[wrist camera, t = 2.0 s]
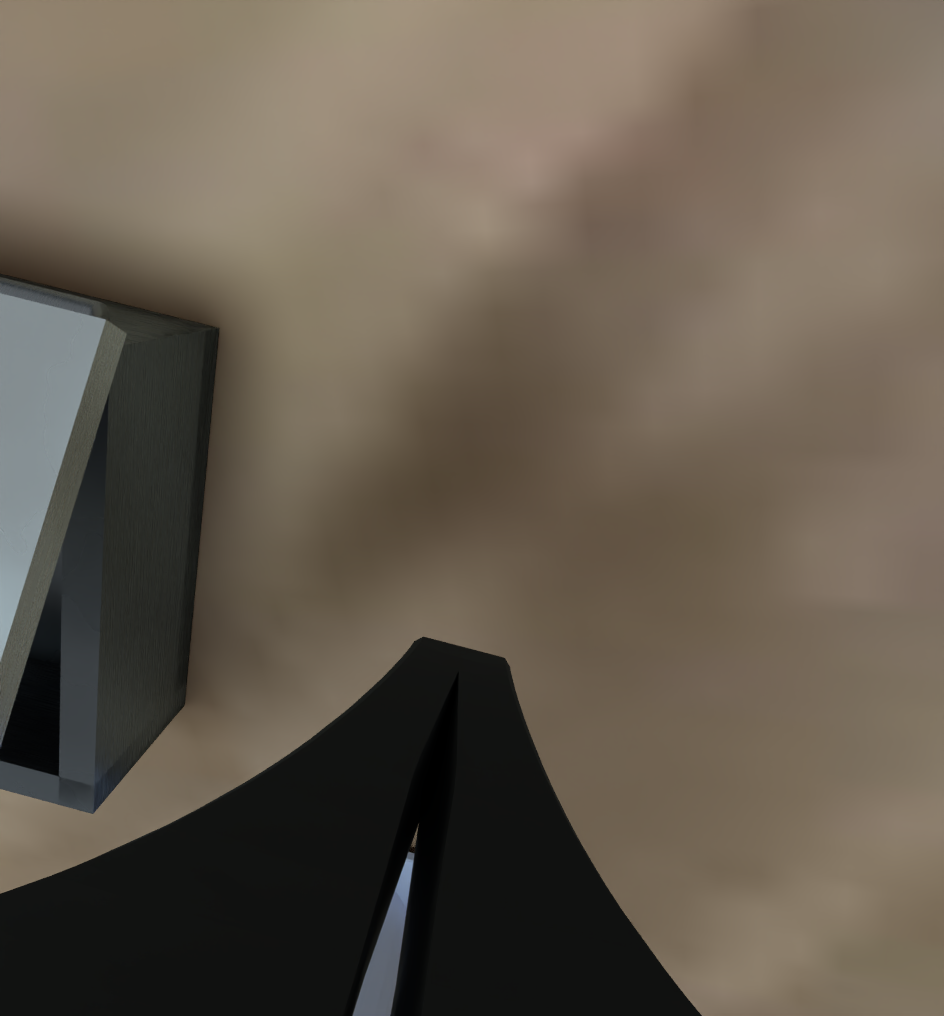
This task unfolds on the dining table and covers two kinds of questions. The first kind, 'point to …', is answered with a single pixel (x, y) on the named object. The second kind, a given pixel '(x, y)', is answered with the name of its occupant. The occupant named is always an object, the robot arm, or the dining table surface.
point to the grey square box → (120, 574)
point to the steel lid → (43, 447)
